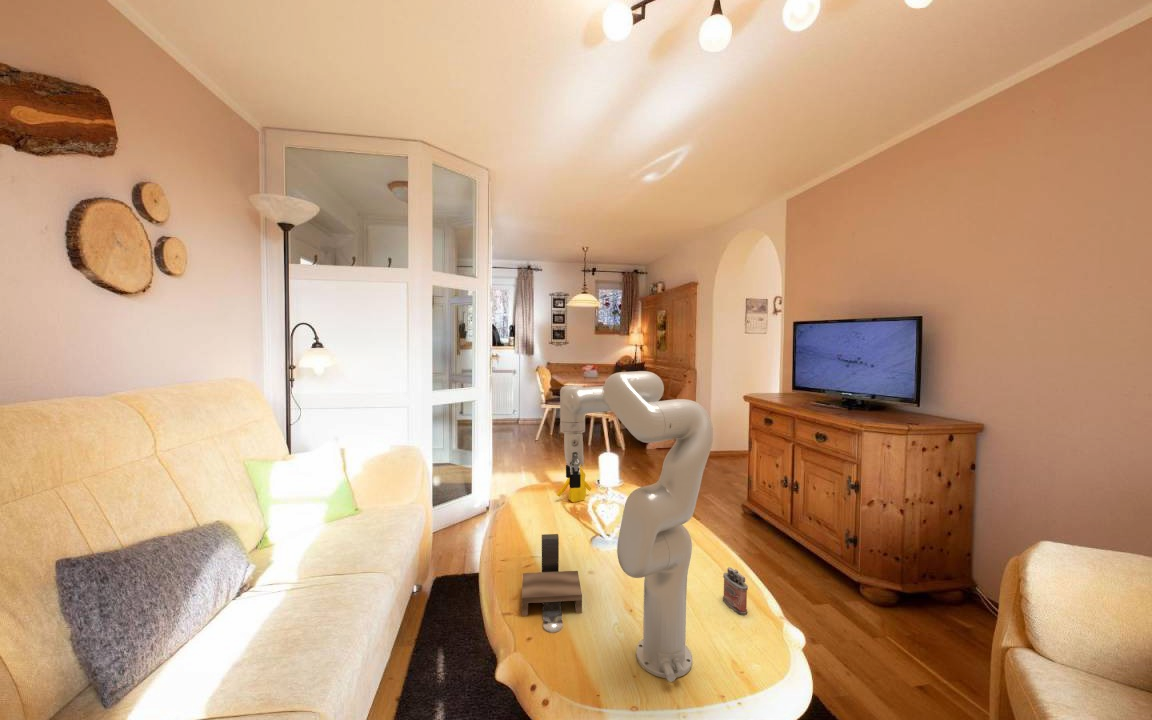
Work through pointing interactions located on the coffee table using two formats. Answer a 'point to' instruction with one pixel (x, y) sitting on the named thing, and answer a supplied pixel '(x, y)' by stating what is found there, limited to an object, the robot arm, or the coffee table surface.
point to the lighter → (735, 591)
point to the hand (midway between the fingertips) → (573, 482)
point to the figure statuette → (576, 489)
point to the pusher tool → (550, 565)
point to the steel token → (552, 624)
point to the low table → (551, 588)
